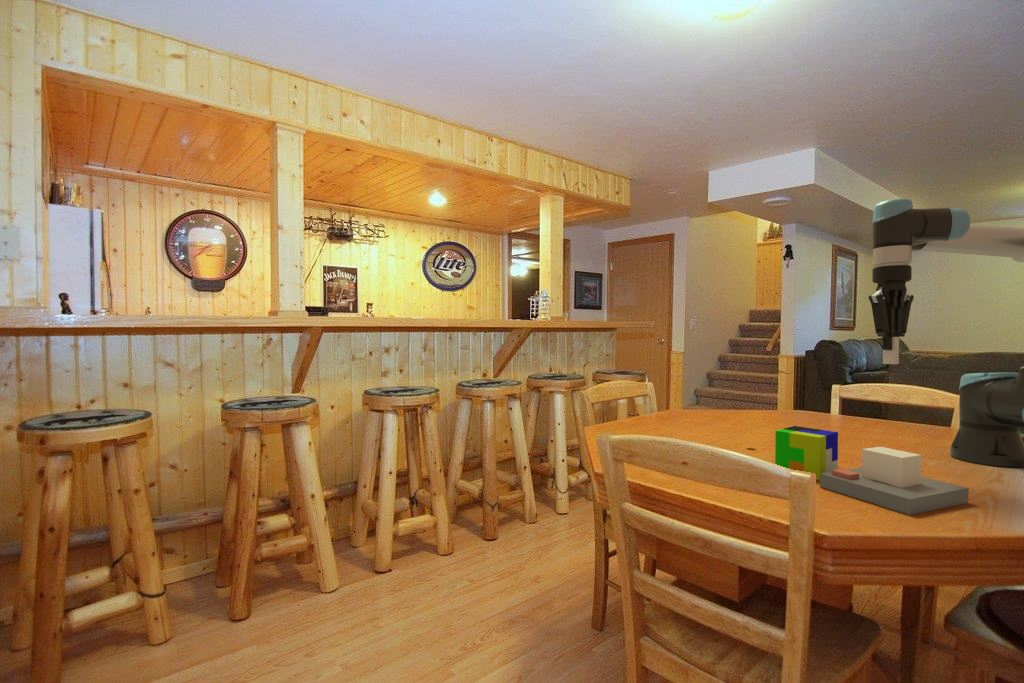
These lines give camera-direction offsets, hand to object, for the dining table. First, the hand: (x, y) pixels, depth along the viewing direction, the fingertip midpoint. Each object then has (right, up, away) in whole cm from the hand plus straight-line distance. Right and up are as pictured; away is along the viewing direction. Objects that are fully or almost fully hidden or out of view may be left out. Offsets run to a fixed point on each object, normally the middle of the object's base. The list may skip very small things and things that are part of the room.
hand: (890, 363), depth 121 cm
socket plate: (-12, -27, -16) cm, 33 cm away
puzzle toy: (-19, -27, +2) cm, 33 cm away
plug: (-12, -27, -16) cm, 33 cm away
